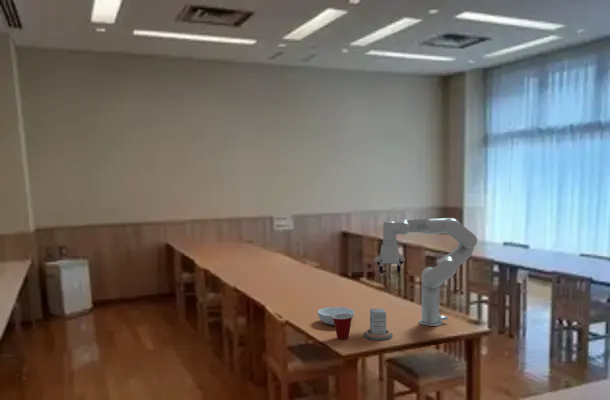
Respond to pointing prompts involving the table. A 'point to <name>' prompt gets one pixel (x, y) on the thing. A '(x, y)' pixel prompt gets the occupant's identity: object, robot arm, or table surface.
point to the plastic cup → (342, 325)
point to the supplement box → (378, 321)
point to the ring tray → (378, 337)
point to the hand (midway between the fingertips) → (389, 272)
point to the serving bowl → (332, 313)
